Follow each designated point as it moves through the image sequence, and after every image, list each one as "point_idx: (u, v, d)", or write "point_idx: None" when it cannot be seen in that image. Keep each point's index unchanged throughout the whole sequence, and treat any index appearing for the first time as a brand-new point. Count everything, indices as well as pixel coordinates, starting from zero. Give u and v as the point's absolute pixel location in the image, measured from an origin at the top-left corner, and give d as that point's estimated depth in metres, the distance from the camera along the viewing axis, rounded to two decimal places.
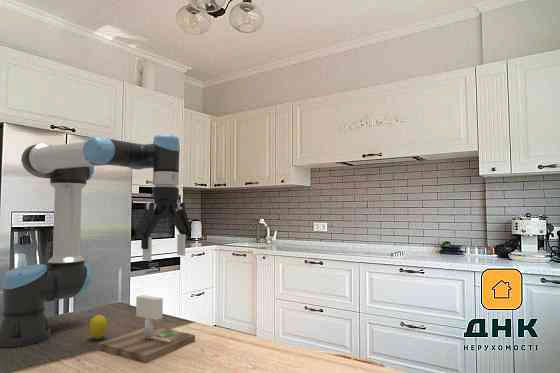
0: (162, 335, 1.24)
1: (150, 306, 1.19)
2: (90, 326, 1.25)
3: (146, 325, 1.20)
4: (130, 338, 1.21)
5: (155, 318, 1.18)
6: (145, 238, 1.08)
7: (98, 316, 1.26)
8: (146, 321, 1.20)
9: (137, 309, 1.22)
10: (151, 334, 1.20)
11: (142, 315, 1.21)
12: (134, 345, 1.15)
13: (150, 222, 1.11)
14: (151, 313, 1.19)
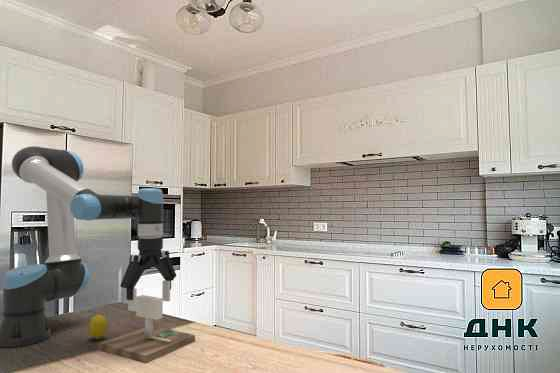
0: (162, 335, 1.24)
1: (150, 306, 1.19)
2: (90, 326, 1.25)
3: (146, 325, 1.20)
4: (130, 338, 1.21)
5: (155, 318, 1.18)
6: (130, 290, 1.14)
7: (98, 316, 1.26)
8: (146, 321, 1.20)
9: (137, 309, 1.22)
10: (151, 334, 1.20)
11: (142, 315, 1.21)
12: (134, 345, 1.15)
13: (135, 273, 1.17)
14: (151, 313, 1.19)
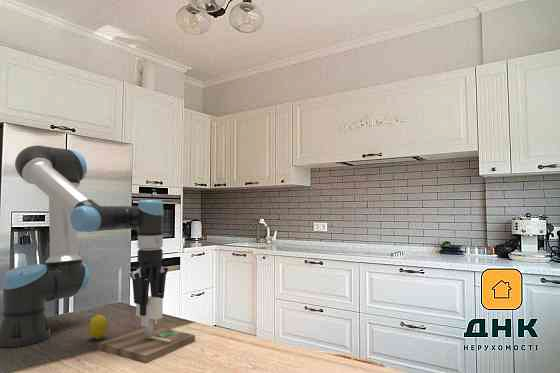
0: (162, 335, 1.24)
1: (150, 306, 1.19)
2: (90, 326, 1.25)
3: None
4: (130, 338, 1.21)
5: (155, 318, 1.18)
6: (143, 306, 1.19)
7: (98, 316, 1.26)
8: None
9: (137, 309, 1.22)
10: (151, 334, 1.20)
11: None
12: (134, 345, 1.15)
13: (142, 289, 1.19)
14: (151, 313, 1.19)
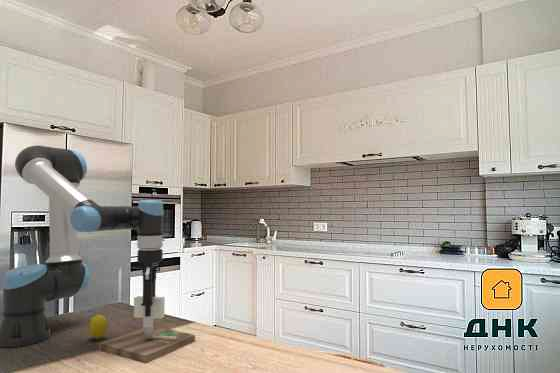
0: (162, 335, 1.24)
1: None
2: (90, 326, 1.25)
3: None
4: (130, 338, 1.21)
5: (159, 317, 1.19)
6: (150, 306, 1.18)
7: (98, 316, 1.26)
8: None
9: (135, 310, 1.21)
10: (152, 334, 1.21)
11: (142, 316, 1.20)
12: (134, 345, 1.15)
13: None
14: (154, 312, 1.20)
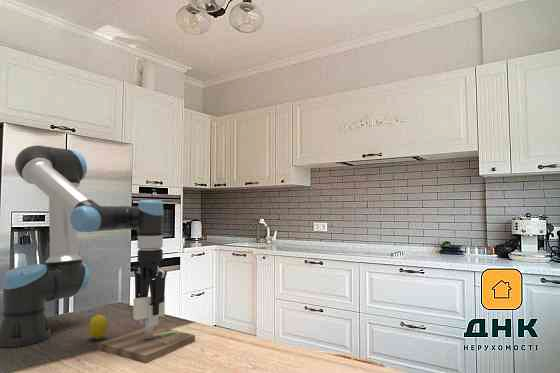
0: (162, 335, 1.24)
1: None
2: (90, 326, 1.25)
3: None
4: (130, 338, 1.21)
5: (163, 314, 1.23)
6: None
7: (98, 316, 1.26)
8: None
9: (137, 313, 1.18)
10: None
11: (145, 317, 1.19)
12: (134, 345, 1.15)
13: (155, 288, 1.20)
14: None
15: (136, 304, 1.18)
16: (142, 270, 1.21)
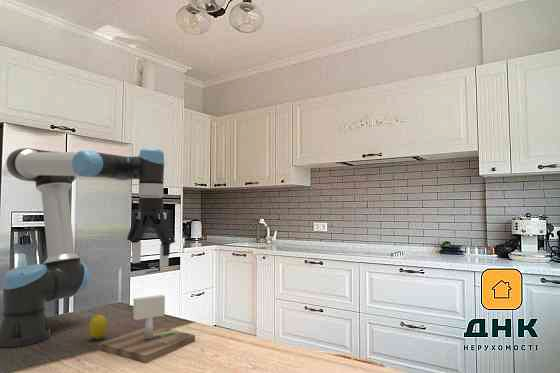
0: (162, 335, 1.24)
1: (156, 304, 1.21)
2: (90, 326, 1.25)
3: (151, 325, 1.20)
4: (130, 338, 1.21)
5: (163, 314, 1.23)
6: None
7: (98, 316, 1.26)
8: (150, 321, 1.20)
9: (137, 313, 1.18)
10: None
11: (145, 317, 1.19)
12: (134, 345, 1.15)
13: (161, 231, 1.20)
14: (157, 311, 1.22)
15: (136, 304, 1.18)
16: (143, 218, 1.22)
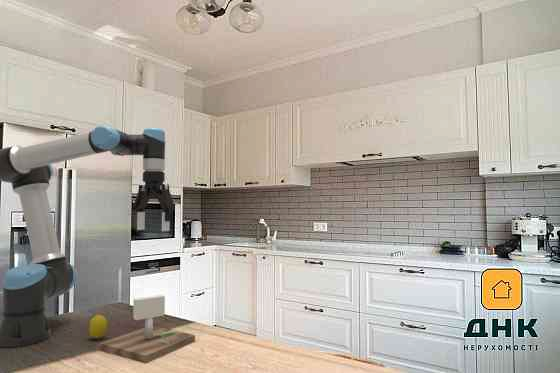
0: (162, 335, 1.24)
1: (156, 304, 1.21)
2: (90, 326, 1.25)
3: (151, 325, 1.20)
4: (130, 338, 1.21)
5: (163, 314, 1.23)
6: None
7: (98, 316, 1.26)
8: (150, 321, 1.20)
9: (137, 313, 1.18)
10: None
11: (145, 317, 1.19)
12: (134, 345, 1.15)
13: (163, 200, 1.36)
14: (157, 311, 1.22)
15: (136, 304, 1.18)
16: (146, 189, 1.39)
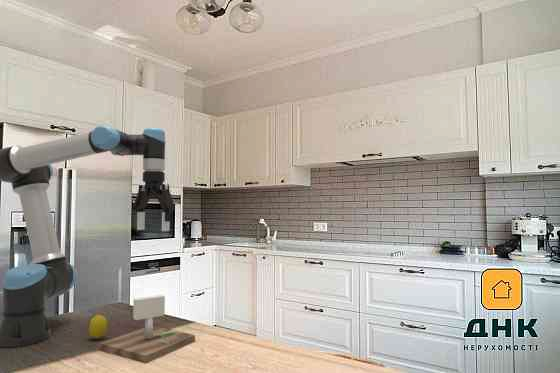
0: (162, 335, 1.24)
1: (156, 304, 1.21)
2: (90, 326, 1.25)
3: (151, 325, 1.20)
4: (130, 338, 1.21)
5: (163, 314, 1.23)
6: None
7: (98, 316, 1.26)
8: (150, 321, 1.20)
9: (137, 313, 1.18)
10: None
11: (145, 317, 1.19)
12: (134, 345, 1.15)
13: (163, 200, 1.36)
14: (157, 311, 1.22)
15: (136, 304, 1.18)
16: (146, 189, 1.39)
